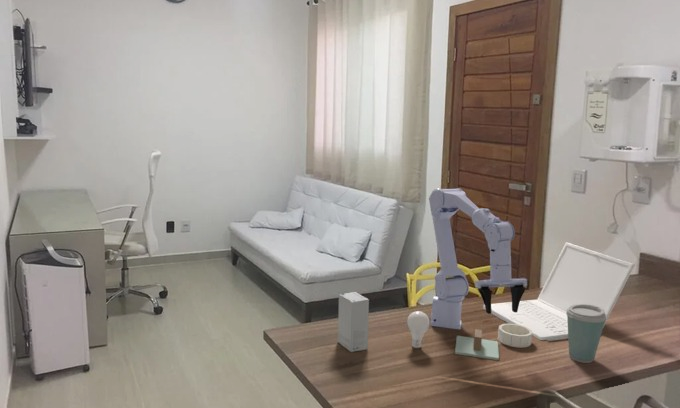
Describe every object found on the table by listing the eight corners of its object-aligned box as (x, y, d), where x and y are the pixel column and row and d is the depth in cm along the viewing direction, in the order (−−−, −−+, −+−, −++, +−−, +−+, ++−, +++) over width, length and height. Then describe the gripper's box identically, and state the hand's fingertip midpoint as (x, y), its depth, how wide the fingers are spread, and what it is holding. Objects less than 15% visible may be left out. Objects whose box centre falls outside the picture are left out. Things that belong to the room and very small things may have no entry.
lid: (454, 353, 160) (456, 338, 160) (456, 337, 172) (458, 323, 171) (498, 360, 158) (500, 344, 157) (497, 343, 169) (499, 328, 168)
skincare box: (368, 349, 161) (371, 299, 159) (349, 353, 158) (352, 302, 156) (353, 338, 168) (356, 290, 166) (335, 341, 165) (338, 292, 163)
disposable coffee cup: (580, 368, 156) (587, 316, 154) (552, 352, 166) (558, 303, 163) (608, 363, 160) (616, 313, 158) (579, 348, 170) (585, 300, 168)
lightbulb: (429, 345, 166) (432, 310, 164) (425, 354, 160) (428, 317, 158) (407, 341, 168) (410, 306, 166) (403, 350, 162) (405, 313, 160)
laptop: (482, 309, 201) (488, 245, 197) (560, 301, 214) (567, 241, 210) (540, 343, 173) (549, 270, 169) (625, 331, 186) (635, 263, 182)
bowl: (498, 346, 169) (499, 333, 168) (497, 333, 178) (498, 321, 177) (532, 350, 166) (533, 337, 166) (529, 338, 176) (530, 326, 175)
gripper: (480, 267, 157) (481, 316, 157) (531, 265, 158) (532, 313, 158) (472, 264, 164) (473, 311, 164) (520, 262, 165) (522, 309, 165)
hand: (501, 312), depth 162 cm, fingers open, 7 cm apart
